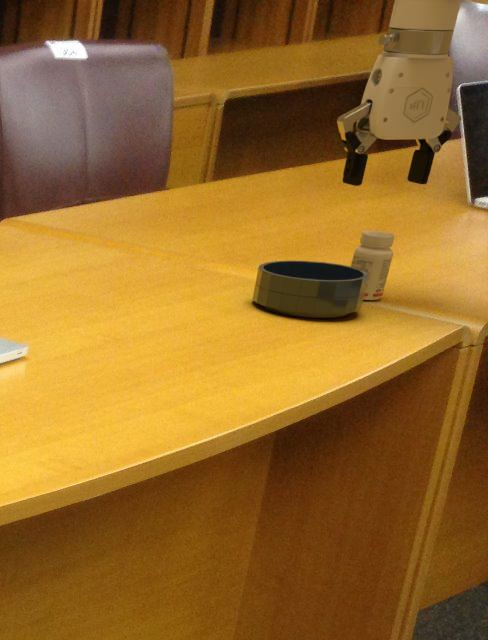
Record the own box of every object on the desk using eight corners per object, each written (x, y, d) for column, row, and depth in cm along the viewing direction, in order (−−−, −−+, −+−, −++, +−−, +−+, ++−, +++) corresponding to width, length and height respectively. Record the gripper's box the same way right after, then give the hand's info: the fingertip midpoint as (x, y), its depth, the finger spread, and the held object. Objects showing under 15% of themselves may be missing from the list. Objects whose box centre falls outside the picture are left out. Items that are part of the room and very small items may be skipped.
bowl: (381, 317, 197) (390, 278, 195) (289, 322, 195) (297, 283, 193) (319, 295, 209) (327, 258, 207) (231, 300, 207) (238, 262, 205)
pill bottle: (372, 292, 211) (388, 230, 207) (387, 301, 206) (404, 237, 203) (337, 291, 211) (353, 229, 207) (352, 300, 206) (368, 236, 203)
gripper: (375, 47, 190) (343, 189, 197) (497, 46, 193) (461, 187, 201) (338, 42, 196) (308, 180, 204) (456, 41, 199) (423, 177, 207)
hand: (384, 183), depth 202 cm, fingers open, 9 cm apart
